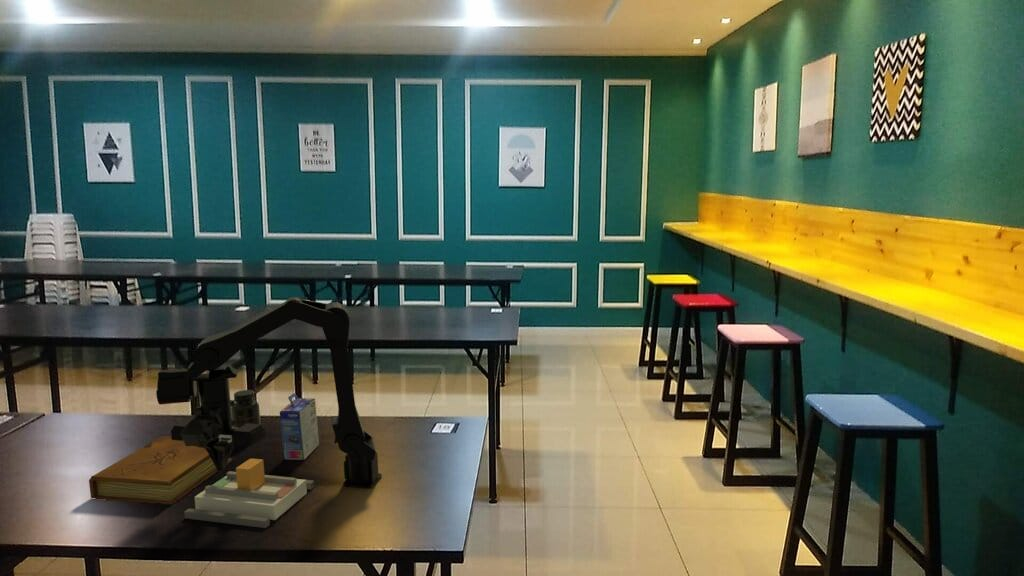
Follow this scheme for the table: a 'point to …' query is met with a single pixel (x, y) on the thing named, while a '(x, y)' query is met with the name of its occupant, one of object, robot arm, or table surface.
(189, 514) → the grey base plate
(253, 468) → the handle
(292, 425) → the ink cartridge box
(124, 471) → the diary
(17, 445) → the table surface
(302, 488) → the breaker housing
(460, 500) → the table surface
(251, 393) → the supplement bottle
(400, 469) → the table surface
